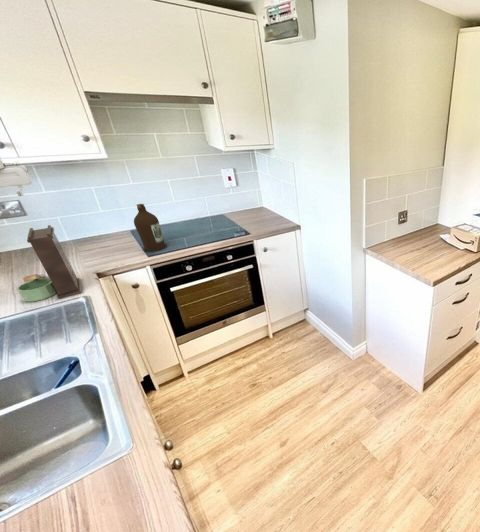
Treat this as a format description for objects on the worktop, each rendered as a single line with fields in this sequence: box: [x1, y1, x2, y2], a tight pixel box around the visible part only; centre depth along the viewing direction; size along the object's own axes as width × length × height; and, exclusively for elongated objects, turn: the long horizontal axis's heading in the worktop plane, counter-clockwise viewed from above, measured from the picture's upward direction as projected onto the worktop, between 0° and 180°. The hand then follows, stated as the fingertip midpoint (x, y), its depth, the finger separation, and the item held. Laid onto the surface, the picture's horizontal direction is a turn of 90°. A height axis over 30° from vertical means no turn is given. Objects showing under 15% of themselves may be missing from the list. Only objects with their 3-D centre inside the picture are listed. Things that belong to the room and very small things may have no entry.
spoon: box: [21, 273, 47, 283], centre depth 138 cm, size 4×23×2 cm, turn 43°
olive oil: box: [133, 203, 167, 252], centre depth 173 cm, size 11×11×25 cm
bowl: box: [16, 277, 58, 302], centre depth 133 cm, size 10×10×6 cm
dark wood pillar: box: [26, 224, 82, 300], centre depth 133 cm, size 7×15×27 cm, turn 43°
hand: (5, 197), depth 139 cm, fingers open, 8 cm apart
